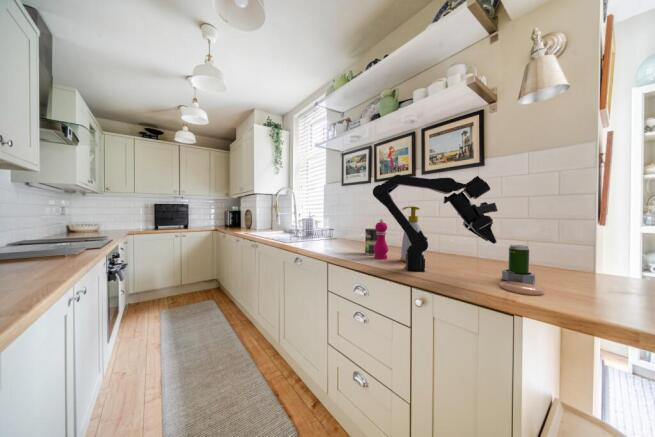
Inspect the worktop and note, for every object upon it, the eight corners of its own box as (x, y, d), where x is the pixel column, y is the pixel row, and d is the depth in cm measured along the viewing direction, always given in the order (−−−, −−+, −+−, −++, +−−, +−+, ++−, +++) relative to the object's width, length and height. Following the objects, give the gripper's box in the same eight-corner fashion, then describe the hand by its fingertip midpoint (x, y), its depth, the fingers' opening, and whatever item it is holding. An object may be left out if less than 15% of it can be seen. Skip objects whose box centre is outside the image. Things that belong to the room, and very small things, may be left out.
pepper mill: (388, 259, 114) (389, 219, 114) (373, 259, 115) (374, 219, 115) (387, 257, 121) (388, 219, 121) (373, 256, 122) (374, 218, 122)
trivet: (515, 294, 65) (515, 290, 65) (493, 284, 75) (493, 280, 75) (554, 296, 64) (554, 292, 64) (526, 285, 74) (526, 282, 74)
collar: (513, 283, 75) (514, 274, 75) (497, 277, 83) (497, 268, 83) (541, 284, 74) (541, 275, 74) (521, 278, 82) (522, 269, 82)
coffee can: (369, 256, 124) (369, 229, 124) (362, 252, 134) (362, 228, 134) (386, 255, 126) (387, 229, 126) (378, 252, 136) (378, 228, 136)
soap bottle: (395, 259, 115) (395, 206, 114) (414, 258, 118) (415, 207, 118) (409, 264, 104) (410, 206, 104) (430, 263, 107) (431, 206, 107)
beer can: (520, 283, 76) (520, 247, 75) (504, 279, 81) (504, 244, 81) (532, 282, 77) (533, 246, 77) (516, 278, 82) (517, 244, 82)
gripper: (491, 191, 75) (525, 231, 72) (478, 195, 93) (505, 228, 90) (459, 210, 79) (490, 249, 76) (452, 211, 96) (477, 243, 93)
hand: (491, 241), depth 83 cm, fingers open, 9 cm apart
